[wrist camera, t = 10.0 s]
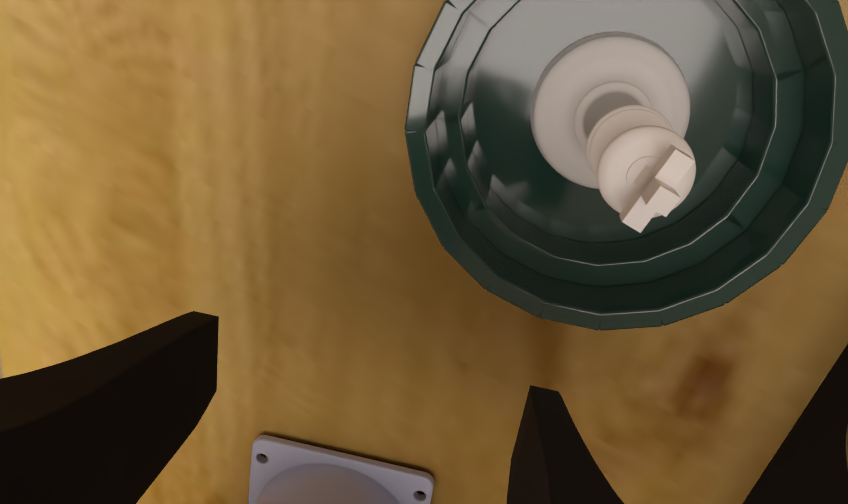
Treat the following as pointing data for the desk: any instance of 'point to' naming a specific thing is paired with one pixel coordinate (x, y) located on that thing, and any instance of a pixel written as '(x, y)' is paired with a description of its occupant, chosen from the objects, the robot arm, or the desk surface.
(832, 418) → the nameplate
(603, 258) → the bowl
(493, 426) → the desk surface
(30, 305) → the desk surface
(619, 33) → the chess piece
